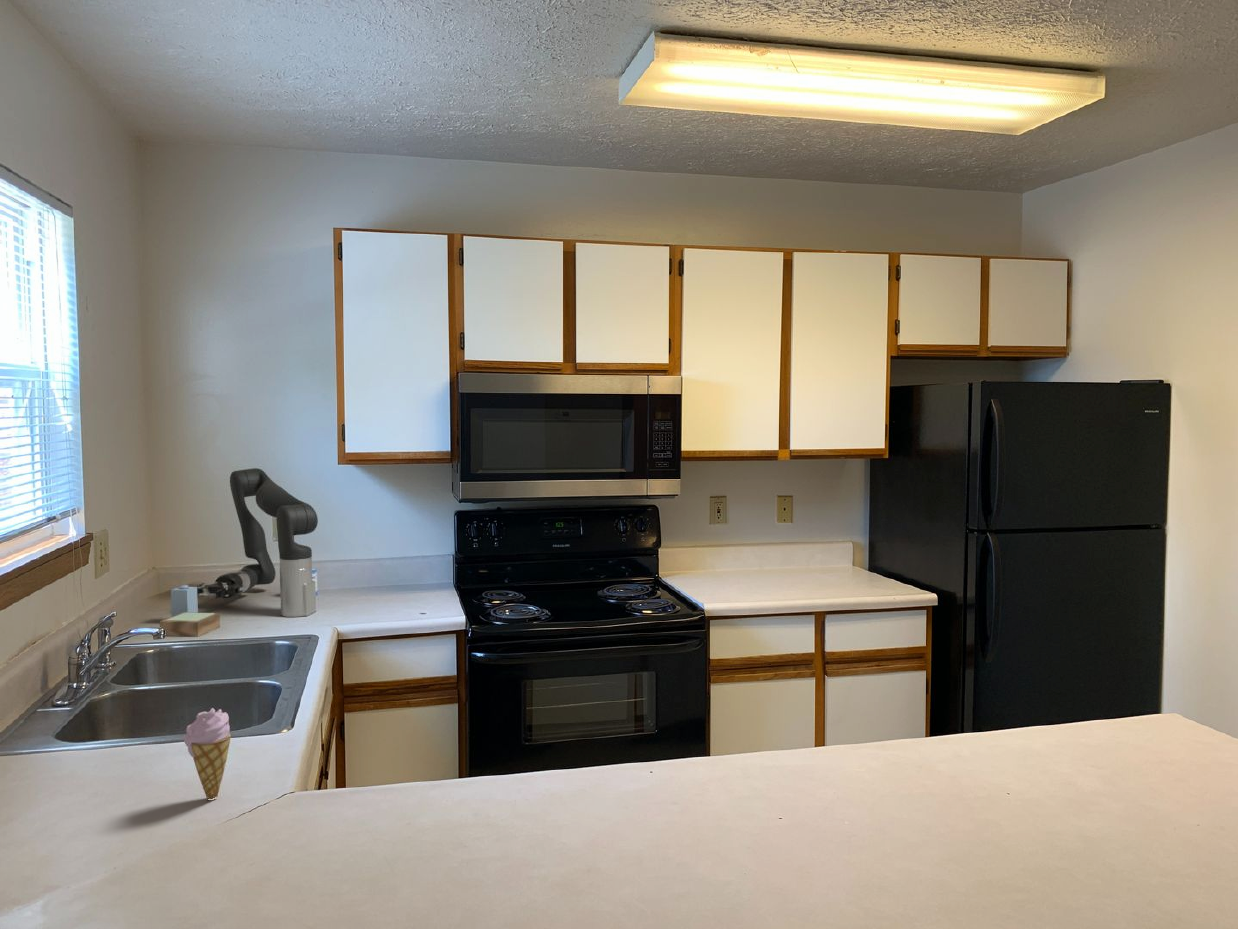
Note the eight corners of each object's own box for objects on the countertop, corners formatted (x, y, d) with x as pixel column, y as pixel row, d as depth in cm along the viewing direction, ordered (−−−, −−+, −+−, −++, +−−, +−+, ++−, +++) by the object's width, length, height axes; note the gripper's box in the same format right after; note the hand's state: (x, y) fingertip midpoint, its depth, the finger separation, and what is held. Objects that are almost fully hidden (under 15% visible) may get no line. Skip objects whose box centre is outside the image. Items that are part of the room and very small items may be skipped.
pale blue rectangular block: (198, 620, 261) (196, 584, 261) (188, 624, 256) (186, 587, 256) (182, 620, 262) (180, 583, 261) (171, 624, 257) (170, 587, 256)
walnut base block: (220, 626, 253) (219, 612, 253) (197, 636, 242) (197, 621, 242) (184, 626, 254) (183, 611, 254) (160, 635, 243) (159, 620, 243)
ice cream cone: (196, 812, 136) (193, 717, 136) (179, 800, 141) (176, 708, 140) (239, 798, 141) (236, 706, 140) (221, 787, 146) (218, 697, 145)
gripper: (211, 572, 285) (181, 581, 269) (253, 572, 284) (225, 582, 268) (212, 595, 286) (182, 606, 270) (254, 596, 284) (226, 607, 268)
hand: (203, 594), depth 269 cm, fingers open, 8 cm apart
